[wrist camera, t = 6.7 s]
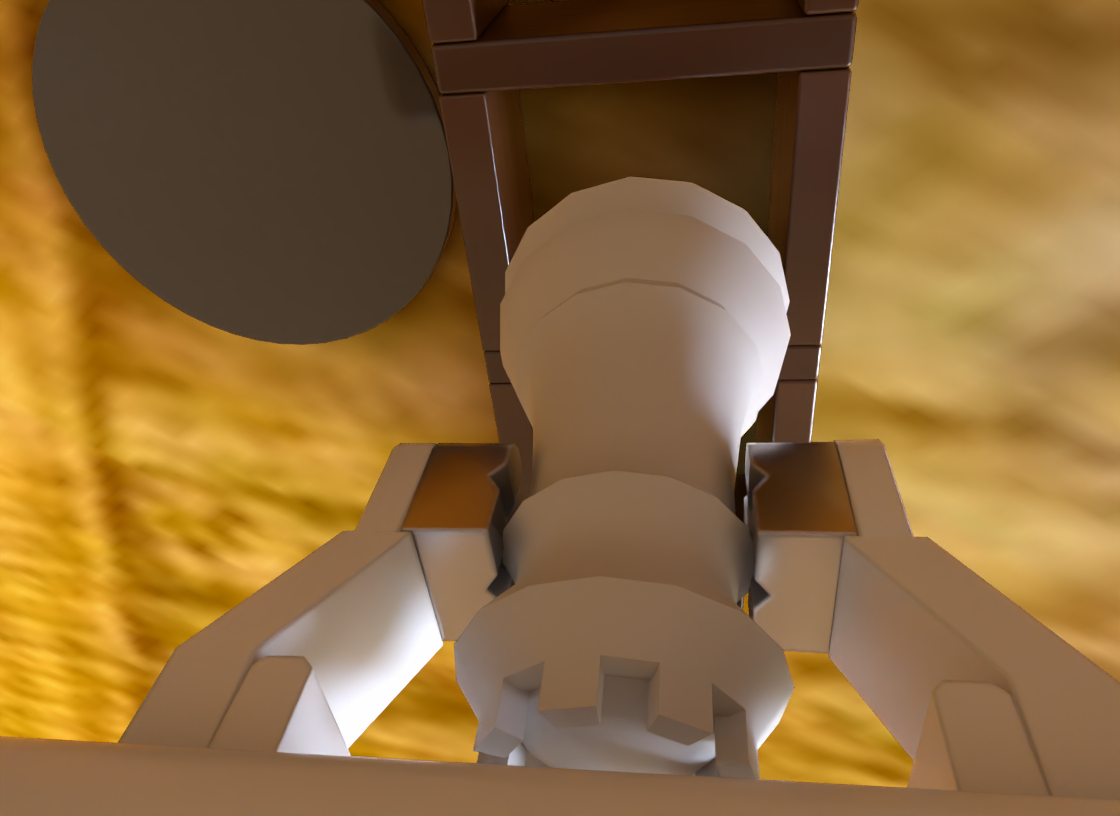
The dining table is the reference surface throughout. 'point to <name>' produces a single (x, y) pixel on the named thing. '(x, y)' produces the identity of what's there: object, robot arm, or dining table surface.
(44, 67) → the coaster
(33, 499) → the dining table surface
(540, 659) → the rook chess piece
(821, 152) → the spice rack
